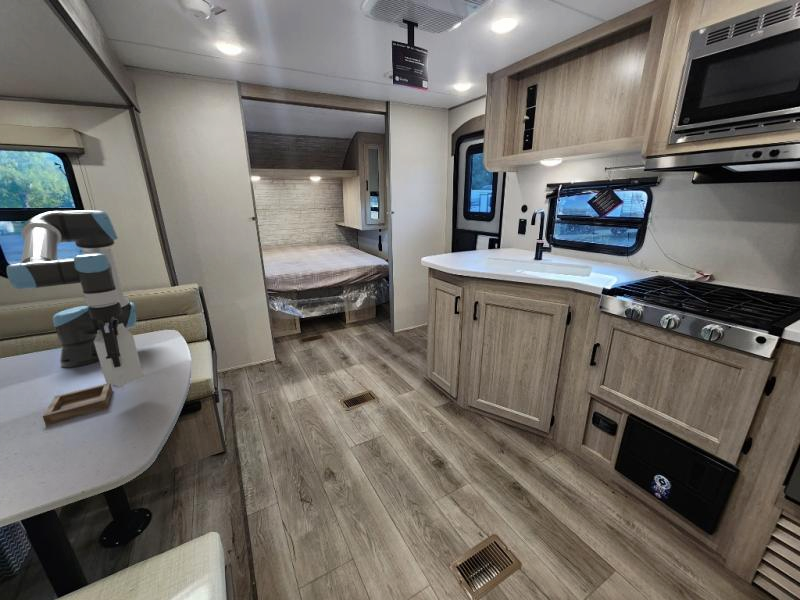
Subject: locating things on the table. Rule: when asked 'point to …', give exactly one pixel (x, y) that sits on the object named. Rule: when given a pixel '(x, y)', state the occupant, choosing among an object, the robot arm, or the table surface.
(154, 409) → the table surface
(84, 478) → the table surface
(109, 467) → the table surface
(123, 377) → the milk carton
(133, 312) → the robot arm
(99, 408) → the square wooden tray
